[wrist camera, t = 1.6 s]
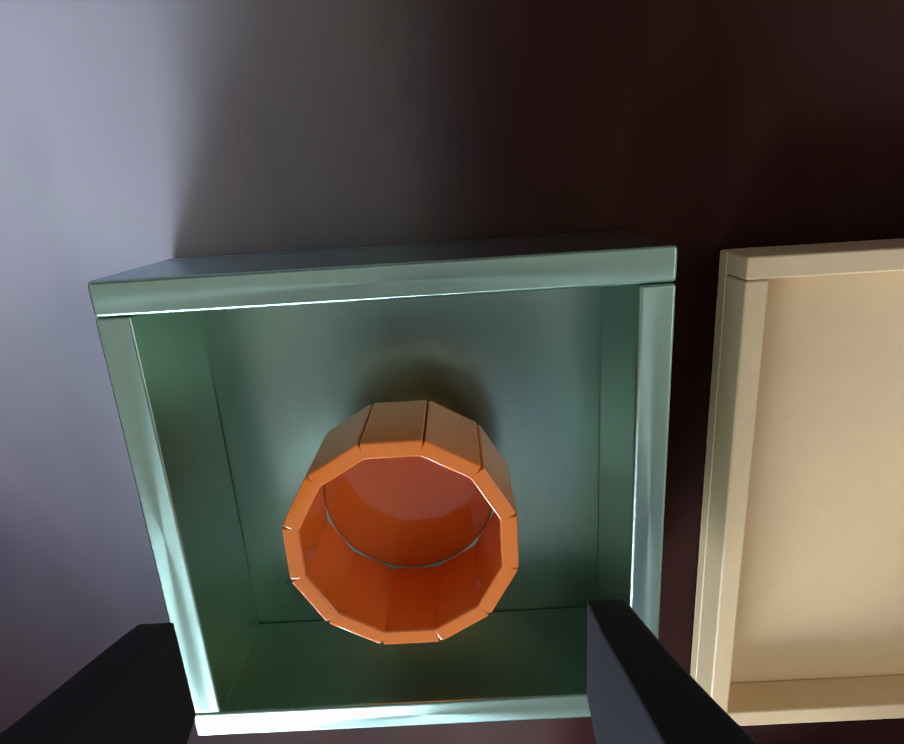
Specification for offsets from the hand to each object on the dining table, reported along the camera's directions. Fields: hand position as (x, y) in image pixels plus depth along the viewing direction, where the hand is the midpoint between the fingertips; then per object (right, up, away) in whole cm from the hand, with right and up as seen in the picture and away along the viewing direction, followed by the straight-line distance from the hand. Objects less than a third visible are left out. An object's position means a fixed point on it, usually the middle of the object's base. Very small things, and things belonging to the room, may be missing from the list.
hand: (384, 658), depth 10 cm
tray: (+14, +1, +8) cm, 16 cm away
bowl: (0, +2, +7) cm, 8 cm away
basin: (0, +3, +8) cm, 8 cm away
